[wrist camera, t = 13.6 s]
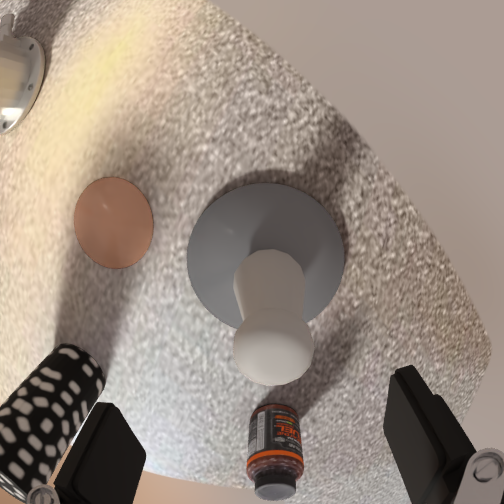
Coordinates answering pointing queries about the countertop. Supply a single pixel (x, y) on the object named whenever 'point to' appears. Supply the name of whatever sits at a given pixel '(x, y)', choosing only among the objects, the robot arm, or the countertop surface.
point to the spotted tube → (45, 417)
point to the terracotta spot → (113, 222)
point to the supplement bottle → (274, 452)
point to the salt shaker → (271, 319)
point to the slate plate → (264, 245)
